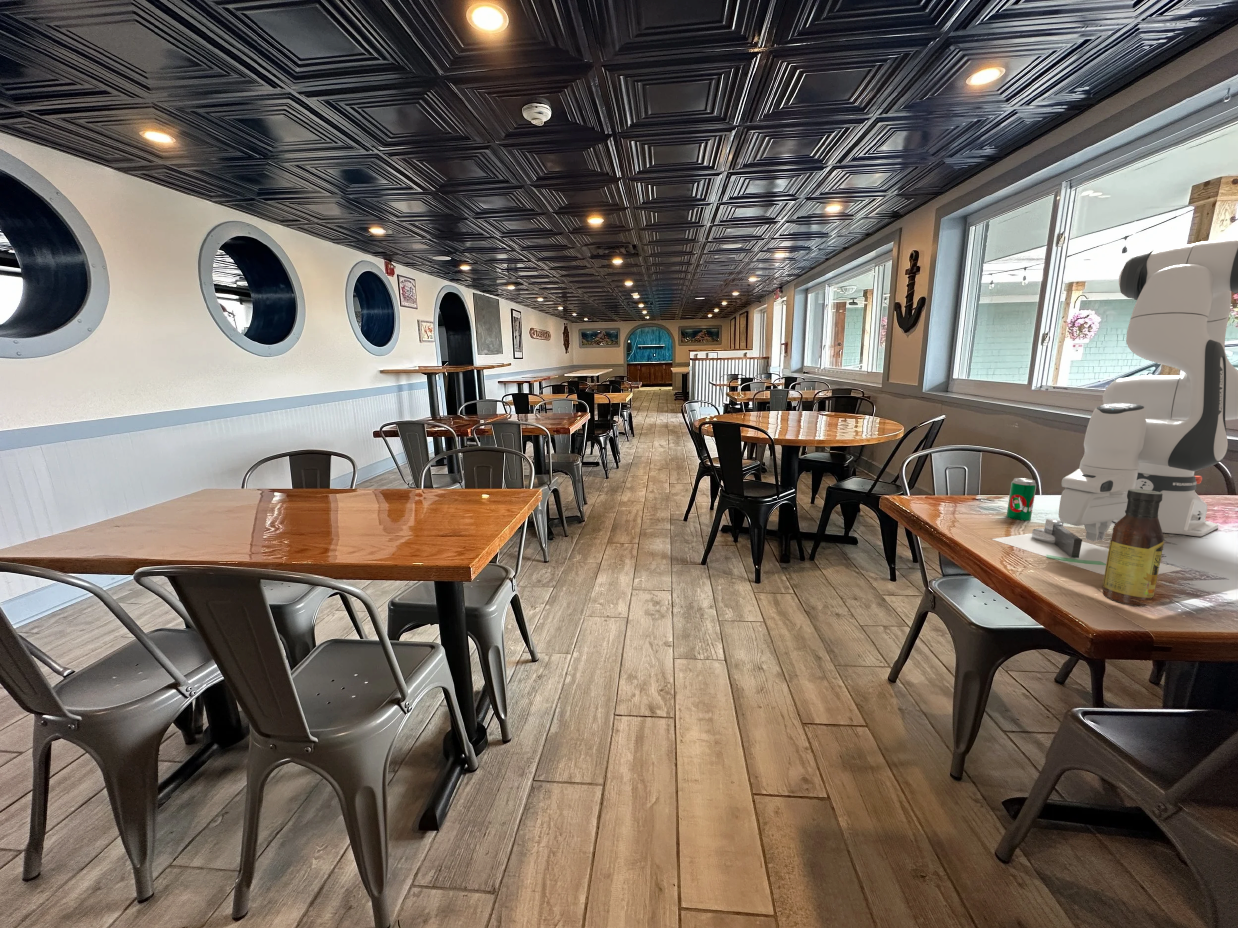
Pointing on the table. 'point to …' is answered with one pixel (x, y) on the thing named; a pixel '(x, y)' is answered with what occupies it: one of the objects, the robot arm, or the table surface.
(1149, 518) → the sauce bottle
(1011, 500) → the soda can
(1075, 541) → the grey black long piece
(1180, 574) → the table surface
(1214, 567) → the table surface
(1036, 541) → the board
